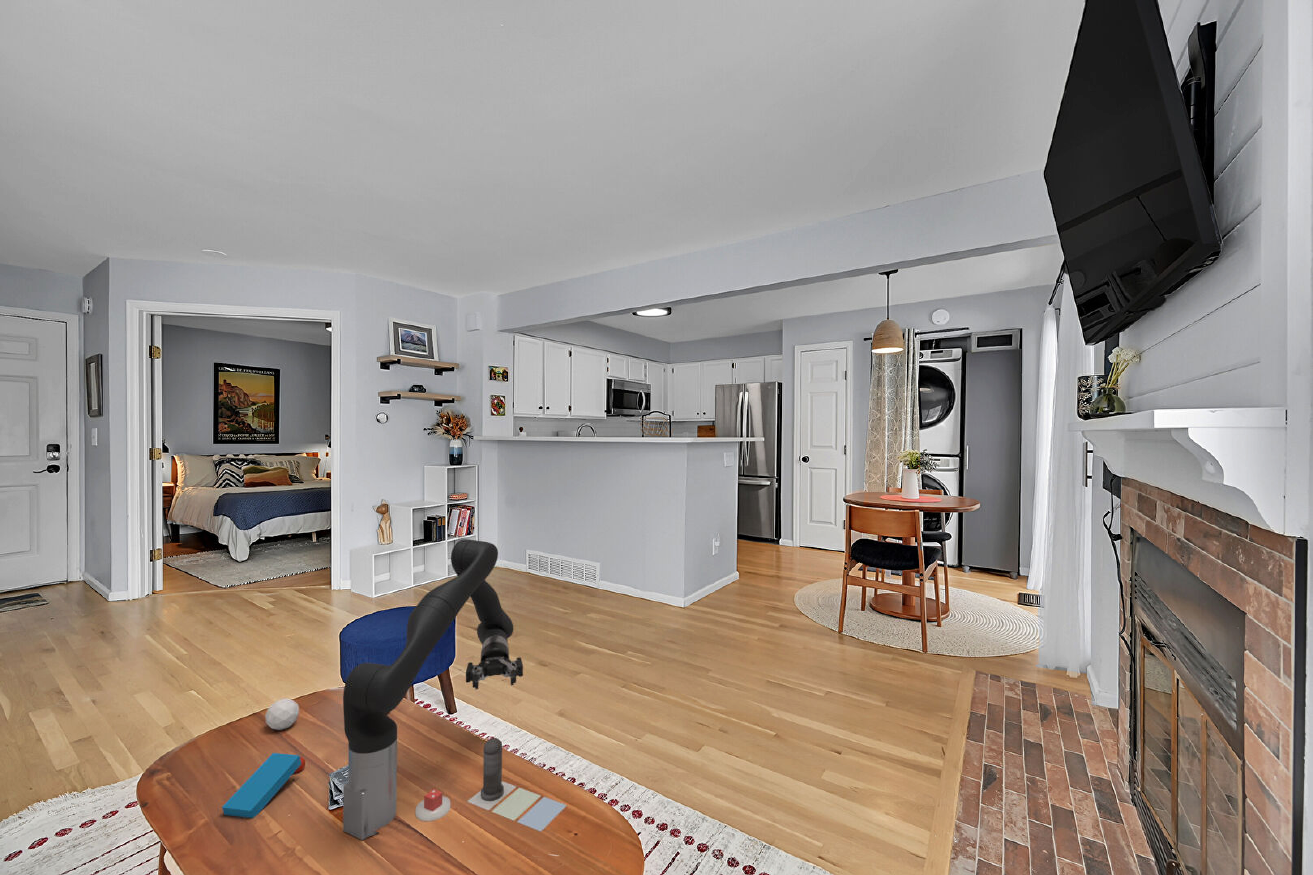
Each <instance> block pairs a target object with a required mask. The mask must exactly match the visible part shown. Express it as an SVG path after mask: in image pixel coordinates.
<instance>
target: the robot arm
mask: <svg viewBox="0 0 1313 875" xmlns="http://www.w3.org/2000/svg"><path fill="white" fill-rule="evenodd" d="M450 554H451V555H450V563H451V566H452V569H453V571H454V573H455V574H456V577H454V578H452V579H450V580H447V581H446V582H444V583H442V584H440V585H438V586H436V587H434V588H432V589H431V590H430V591H428V592H427V593H426V594H425V595H424V596H423V598H421V599H420V601H419V602H418V604H417V605H416V606H415V607H414V608H413V610H412V611H411V612H410V614H409V616H408V620H407V624H406V644H405V647H404V648H403V650H402V652H401V653H400V654H399V655H398V657H397V659H396V660H395V661H394V662H393V663H391V664H390V665H388V664H381V663H373V662H363V663H360V664H358V665H356V666H355V667H354V668H353V669H352V670H351V671H350V672H349V674H348V676H347V678H346V681H345V683H344V688H343V695H342V696H343V697H342V705H343V706H342V707H343V725H344V730H343V731H344V734H345V737H346V739H347V742H348V746H347V747H348V762H347V763H348V764H347V769H348V770H347V783H345V784H344V785H343V794H342V795H343V799H342V800H343V801H342V803H343V805H342V806H343V808H342V809H343V810H342V823H343V824H342V831H343V832H345V833H347V834H349V835H351V836H353V837H355V838H358V840H359V839H360V840H362V841H363V840H365V839H366V838H368V837H369V838H370V837H372V836H375V835H378V834H380V832H379V831H377V830H379V829H382V828H383V827H385V826H387V825H388V824H389V823H391V822H392V821H393V820H394V819H395V817H396V816H397V815H396V814H397V792H398V791H397V789H398V788H397V787H398V786H397V784H398V783H397V782H398V779H397V778H398V771H397V770H398V725H397V723H396V722H395V720H394V719H392V718H391V717H390V716H388V715H387V714H390V713H391V712H393V711H394V710H395V709H396V708H397V707H398V706H399V704H400V703H401V702H402V701H403V699H404V698H405V696H406V695H407V693H408V691H409V690H410V688H411V686H412V684H413V682H414V681H415V679H416V677H417V675H418V674H419V672H420V670H421V668H422V666H423V665H424V664H425V662H426V660H427V659H428V657H429V656H430V654H432V651H433V649H435V647H436V645H437V644H438V642H440V641H439V640H440V639H441V638H442V637H443V635H444V634H445V633H446V632H447V630H448V629H449V628H450V626H451V625H452V623H453V622H454V621H455V619H456V617H458V614H459V612H461V609H462V608H463V607H464V606H465V604H466V603H467V602H468V600H469V599H471V601H472V603H473V605H474V606H473V607H474V610H475V613H476V616H477V618H478V620H479V622H480V623H478V625H477V628H476V634H477V638H478V639H479V642H480V644H481V645H482V646H481V649H480V661H479V663H478V664H473V662H471V661H470V662H468V663H467V665H466V669H465V670H466V671H465V683H467V684H468V683H471V682H472V688H473V689H474V688H475V689H474V690H479V686H480V685H479V684H480V683H479V682H480V681H484V680H485V679H487V678H488V677H493V676H503V677H504V678H510V686H514V685H515V683H517V677H520V678H521V677H524V673H523V672H524V665H523V660H522V657H520V656H519V657H516V659H515V660H511V659H510V650H509V648H510V647H509V644H508V642H509V640H508V639H509V638H511V636H512V635H513V632H514V624H513V620H512V619H511V618H510V616H509V615H508V614H507V613H506V612H505V610H504V609H503V608H502V604H501V602H500V599H499V595H498V593H497V592H496V590H495V589H494V587H493V586H492V585H491V584H490V583H489V582H487V580H486V579H487V578H488V576H489V575H490V574H491V573H492V571H493V570H494V568H495V566H496V564H497V561H498V556H499V551H498V547H497V546H496V545H495V544H493V543H491V542H490V541H489V542H488V541H482V540H474V539H468V538H467V539H465V538H464V539H460V540H458V541H457V542H456V543H455V544H454V546H453V547H452V550H451V553H450ZM386 713H387V714H386Z"/></svg>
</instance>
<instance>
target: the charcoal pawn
mask: <svg viewBox="0 0 1313 875" xmlns="http://www.w3.org/2000/svg"><path fill="white" fill-rule="evenodd" d="M502 765H503V743H502V741H501V739H499V738H498V737H491V738H489V739H488V740H487V741H485V743H484V744H483V773H482V775H483V778H482V780H483V781H482V786H483V787H482V788H481V789H480V791H481V798H482V799H483V800H485V801H494V800H497V799H499V798H501V797H502V796H503V794H504V786H503V785H502V780H503V766H502Z"/></svg>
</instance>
